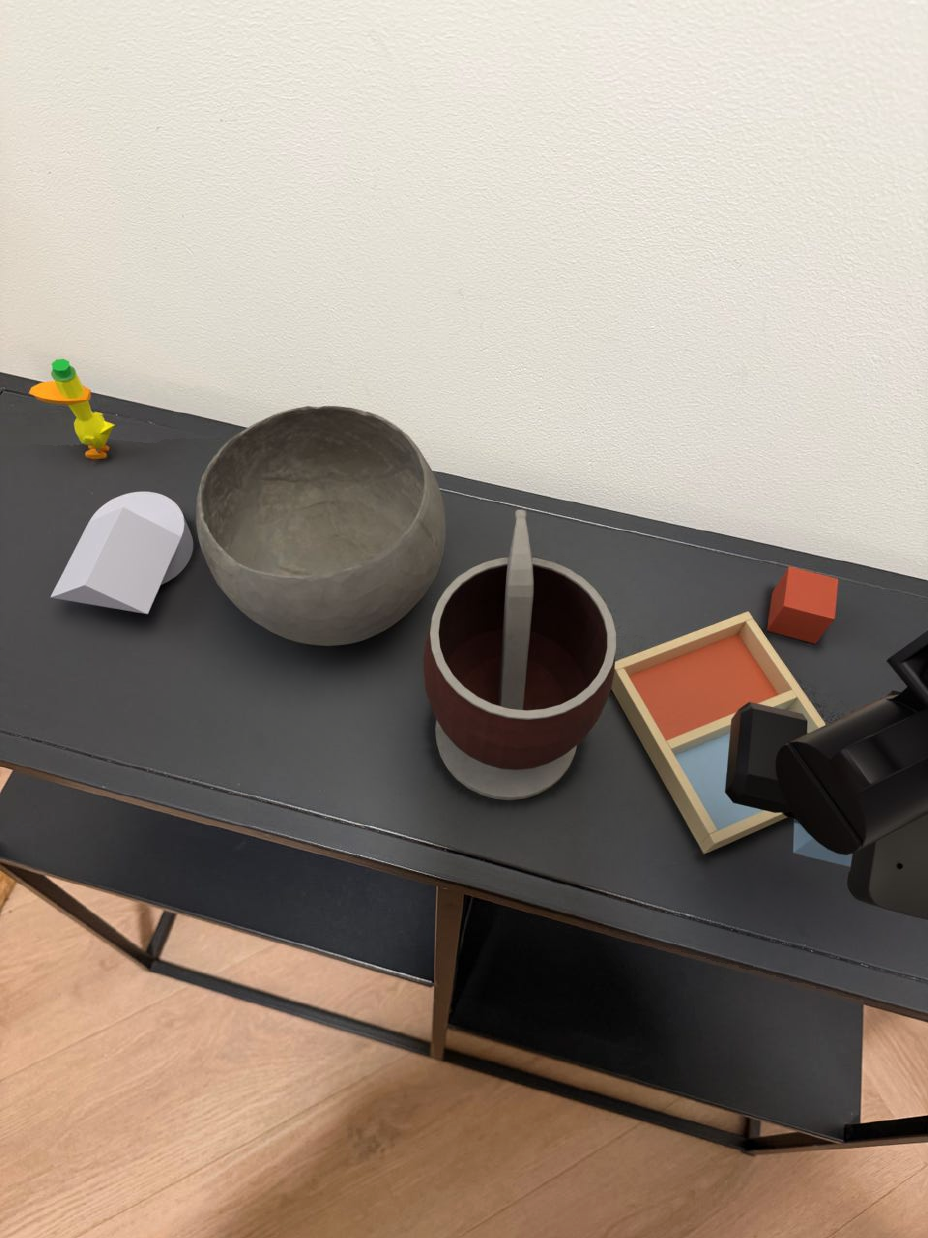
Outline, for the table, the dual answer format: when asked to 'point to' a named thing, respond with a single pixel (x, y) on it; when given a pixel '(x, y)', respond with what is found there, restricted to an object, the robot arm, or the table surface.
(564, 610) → the mate gourd
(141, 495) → the wedge on round base
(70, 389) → the toy figure
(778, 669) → the sorting tray
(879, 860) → the robot arm
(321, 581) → the bowl
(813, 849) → the blue block
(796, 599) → the red block
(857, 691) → the table surface
